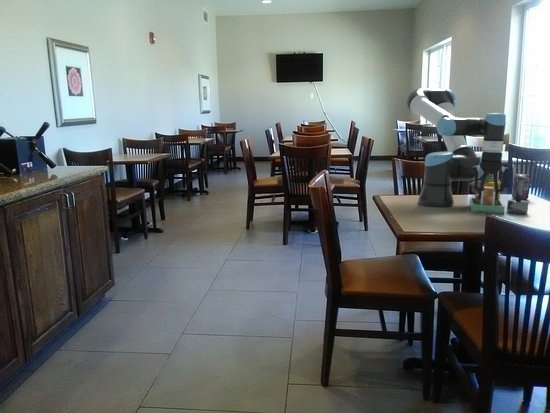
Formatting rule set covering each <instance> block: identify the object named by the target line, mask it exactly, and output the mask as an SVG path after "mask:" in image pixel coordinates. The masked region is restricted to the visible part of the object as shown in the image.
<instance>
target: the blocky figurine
mask: <svg viewBox="0 0 550 413" xmlns="http://www.w3.org/2000/svg"><path fill="white" fill-rule="evenodd" d="M516 177H518V180H517V189H516V198H515V199H508V200H507V206H506V213H507V214H510V215H515V216H516V215H517V216H526V215H528V210H529V201H528V200H521V199H522V190H523V181H524V178H525V177H526V175H516Z"/></svg>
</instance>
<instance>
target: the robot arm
mask: <svg viewBox="0 0 550 413" xmlns="http://www.w3.org/2000/svg"><path fill="white" fill-rule="evenodd" d="M405 102H406V107H407V109H408V110H409V111H410V112H411V113H412V114H414V115H418V116H421V117H422V118H423V119H425V120H426V121H427V122H429V123H430V124H432V125H433V126H435V127H436V132H437V133H438V135H440V136H441V137H442V139H443V142H444V144H445V146H446V148H447V150H446V151H436V152H431V153H428V154H427V155H425V160H424V173H423V185H422V189H421V191H420V194H419V196H418V201H417V203H418V205H422V206H426V207H433V208H434V207H436V208H446V207H453V206H454V201H455V200H454V197H453V196H454V195H453V192H452V182H453V181H455V182H456V181H458V182H459V181H460V182H461V181H464V182H465V181H469V182H470V181H474V182H473V187H474V188H473V189H474V190H475V191H478V192H477V194H478V199H481V201H480V205H483V195H484V192H483V189H484V187H485V180H486V178H487V176H488V175H490V174H491V175H492V178H493V179H492V180H494V188H495V192H493V202H492V205H494V201H495V200H497V199H498V193H499V192H500V193H501V192H504V189H505V183H506V178H507V173H508V172H509V167H505V166H503V164H502V159H503V152H502V151H503V148H504V139H505V130H506V125H507V123H506V122H507V121H506V118H507V116H506V114H505V113H504V112H501V113H500V112H499V113H497V112H493V113H491V112H487V113H486V115H485V117H455V115H454V109H455V107H456V103H457V102H456V97H455V93H454V92H453V91H452V90H450V89H448V88H443V87H442V88H425V87H422V88H421V87H420V88H417V89H414V90H412V91H411V92H410V93H409V94H408V95H407V98H406V101H405ZM472 136H473V137H483V139H482V140H483V141H482V150H483V151H482V152H481V154H480V153H479V154H478V153H476V152H475V150H474V148H473V146H469V145H468V143H467V141H466V139H465V137H472ZM499 171H501V172H502V174H501V179H500V182H501V184H500V188H499V189H498V182H499V181H498V172H499ZM480 178H481V181H480V183H479V182H478V181H479V179H480ZM478 183H479V186H478Z"/></svg>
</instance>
